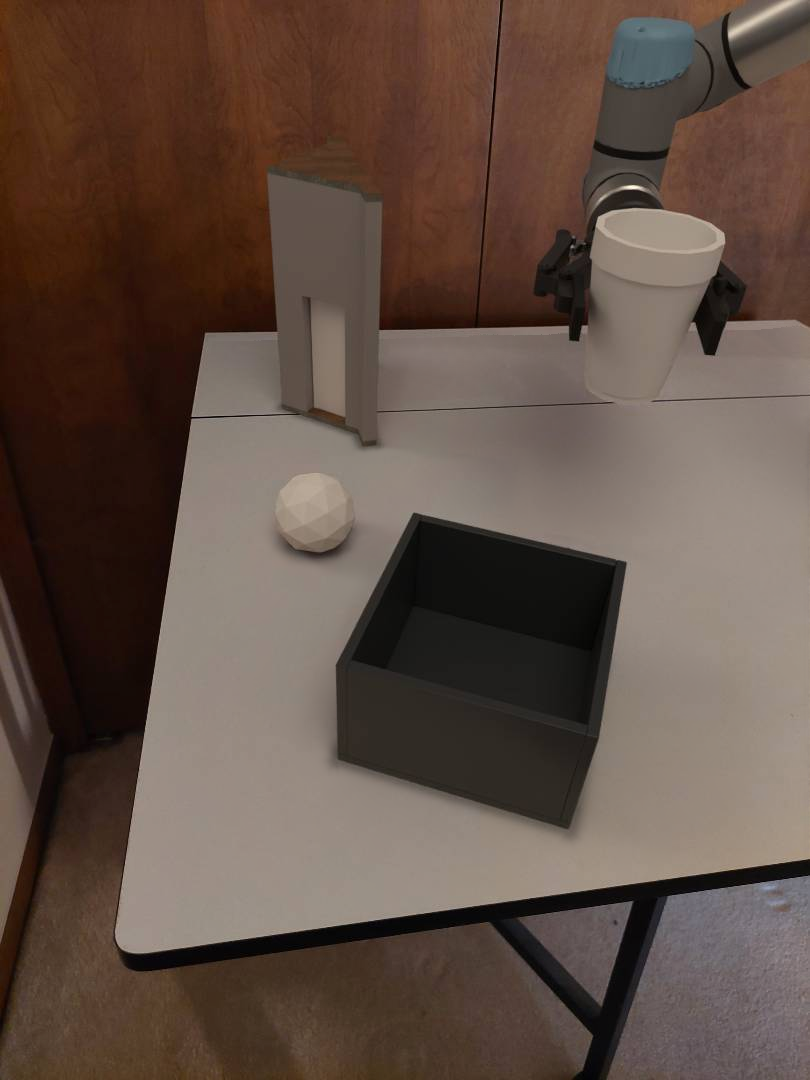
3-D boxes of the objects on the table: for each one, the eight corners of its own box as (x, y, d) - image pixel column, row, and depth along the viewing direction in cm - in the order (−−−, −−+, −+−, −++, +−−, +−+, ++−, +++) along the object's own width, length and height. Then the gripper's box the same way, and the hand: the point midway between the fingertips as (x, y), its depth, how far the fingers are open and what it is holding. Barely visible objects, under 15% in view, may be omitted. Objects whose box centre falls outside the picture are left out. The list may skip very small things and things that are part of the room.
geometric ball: (331, 552, 83) (377, 494, 80) (312, 581, 75) (362, 518, 72) (272, 507, 82) (316, 447, 79) (247, 531, 74) (295, 466, 72)
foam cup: (606, 423, 63) (645, 260, 54) (544, 369, 69) (571, 215, 61) (702, 402, 66) (753, 244, 57) (635, 352, 72) (672, 203, 64)
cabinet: (376, 444, 93) (382, 194, 75) (293, 453, 91) (279, 197, 73) (342, 360, 108) (341, 135, 90) (271, 365, 106) (255, 137, 88)
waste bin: (599, 653, 70) (627, 561, 63) (568, 829, 57) (599, 738, 50) (407, 604, 73) (413, 512, 66) (337, 759, 60) (335, 665, 53)
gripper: (732, 278, 78) (780, 392, 61) (506, 256, 80) (492, 361, 63) (757, 198, 73) (817, 298, 56) (516, 177, 75) (503, 267, 58)
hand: (645, 331), depth 60 cm, fingers closed on foam cup, 9 cm apart
